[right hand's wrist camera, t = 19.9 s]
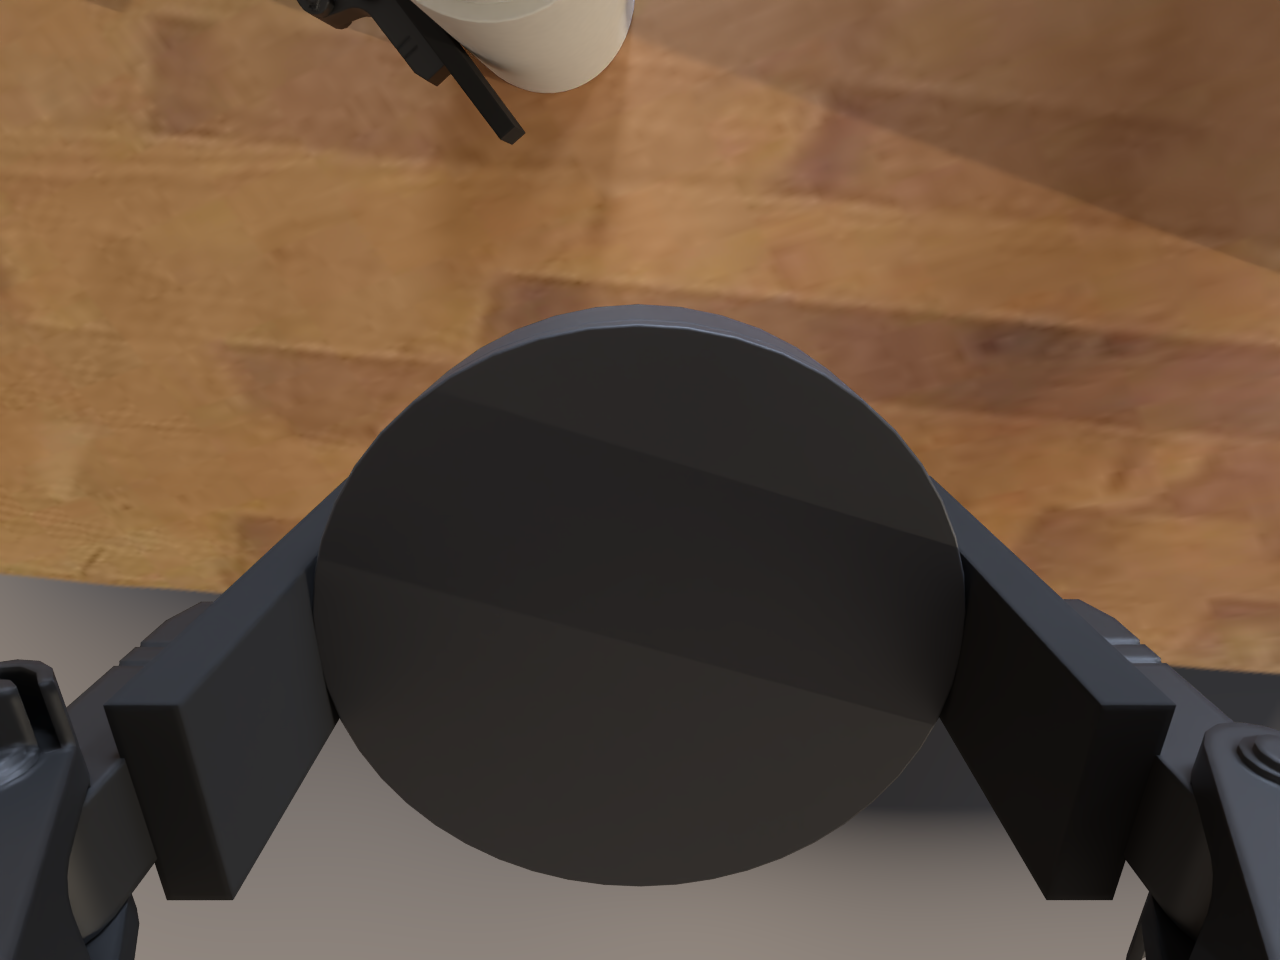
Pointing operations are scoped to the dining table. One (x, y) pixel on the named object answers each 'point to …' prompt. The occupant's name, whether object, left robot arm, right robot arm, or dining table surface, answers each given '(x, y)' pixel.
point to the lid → (639, 599)
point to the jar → (537, 37)
